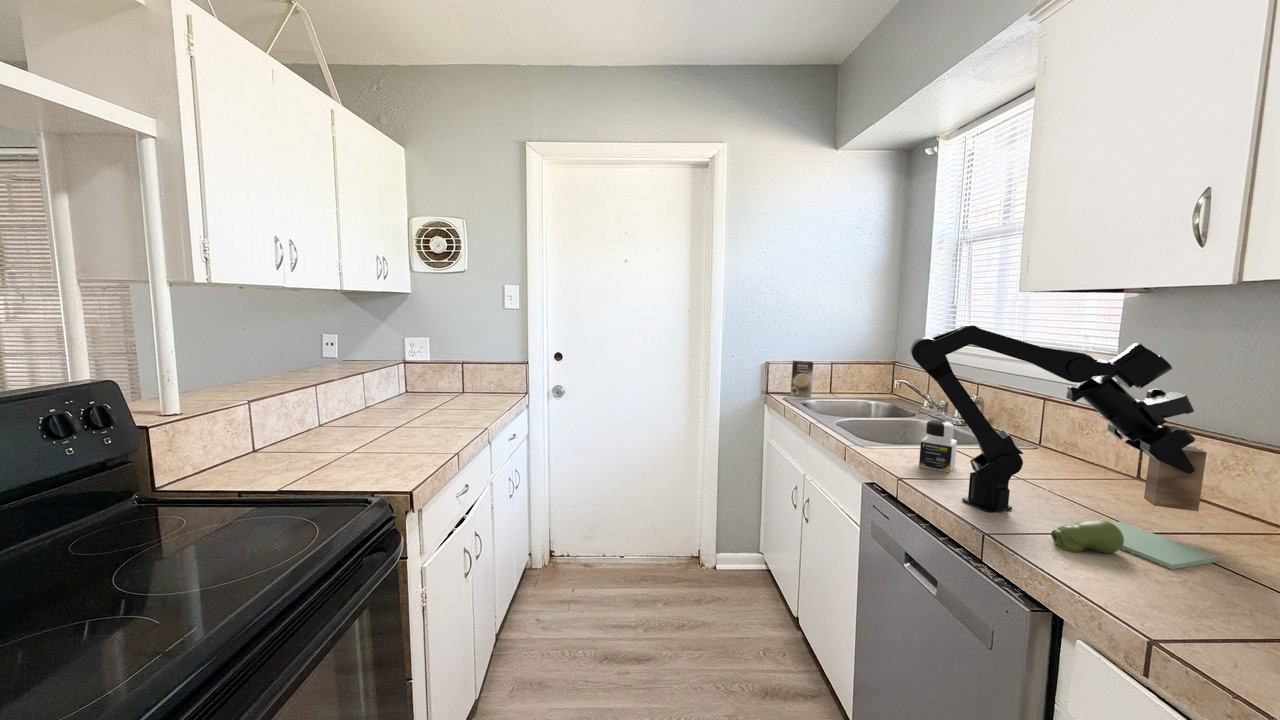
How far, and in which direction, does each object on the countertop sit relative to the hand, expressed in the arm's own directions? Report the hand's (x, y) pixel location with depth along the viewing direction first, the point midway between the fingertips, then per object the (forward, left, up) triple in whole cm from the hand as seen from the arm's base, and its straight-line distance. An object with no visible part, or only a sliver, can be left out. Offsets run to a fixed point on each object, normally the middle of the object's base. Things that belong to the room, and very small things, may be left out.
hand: (1185, 468), depth 93 cm
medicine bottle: (-43, -12, -13) cm, 46 cm away
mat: (+2, -12, -12) cm, 17 cm away
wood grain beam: (-1, -1, -7) cm, 7 cm away
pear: (0, -23, -13) cm, 27 cm away
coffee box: (-142, +10, -13) cm, 143 cm away
